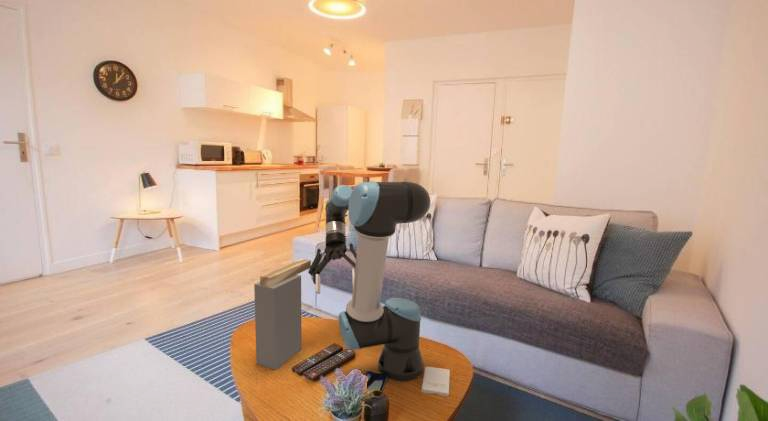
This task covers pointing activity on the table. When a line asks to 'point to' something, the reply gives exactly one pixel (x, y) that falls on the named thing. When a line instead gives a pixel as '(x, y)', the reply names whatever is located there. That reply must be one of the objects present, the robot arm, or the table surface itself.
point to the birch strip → (284, 272)
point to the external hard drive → (436, 381)
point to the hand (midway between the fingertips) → (336, 290)
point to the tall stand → (278, 322)
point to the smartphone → (375, 380)
